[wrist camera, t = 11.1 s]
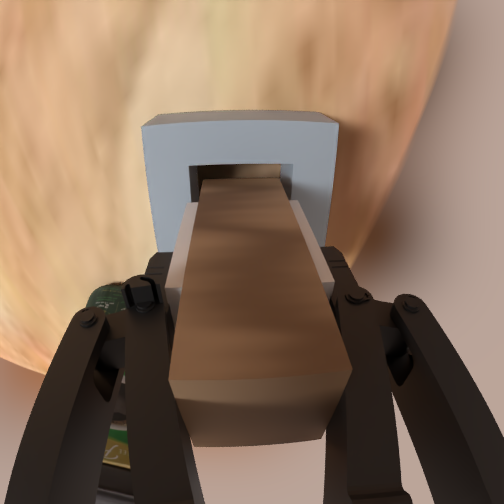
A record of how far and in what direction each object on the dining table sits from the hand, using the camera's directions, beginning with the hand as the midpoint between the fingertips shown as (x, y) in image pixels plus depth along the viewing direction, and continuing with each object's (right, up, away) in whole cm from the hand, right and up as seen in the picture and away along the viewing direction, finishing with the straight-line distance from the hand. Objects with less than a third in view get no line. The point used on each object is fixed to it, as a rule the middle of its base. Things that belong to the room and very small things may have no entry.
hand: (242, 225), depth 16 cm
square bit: (0, +1, +1) cm, 2 cm away
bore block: (0, +3, +5) cm, 6 cm away
